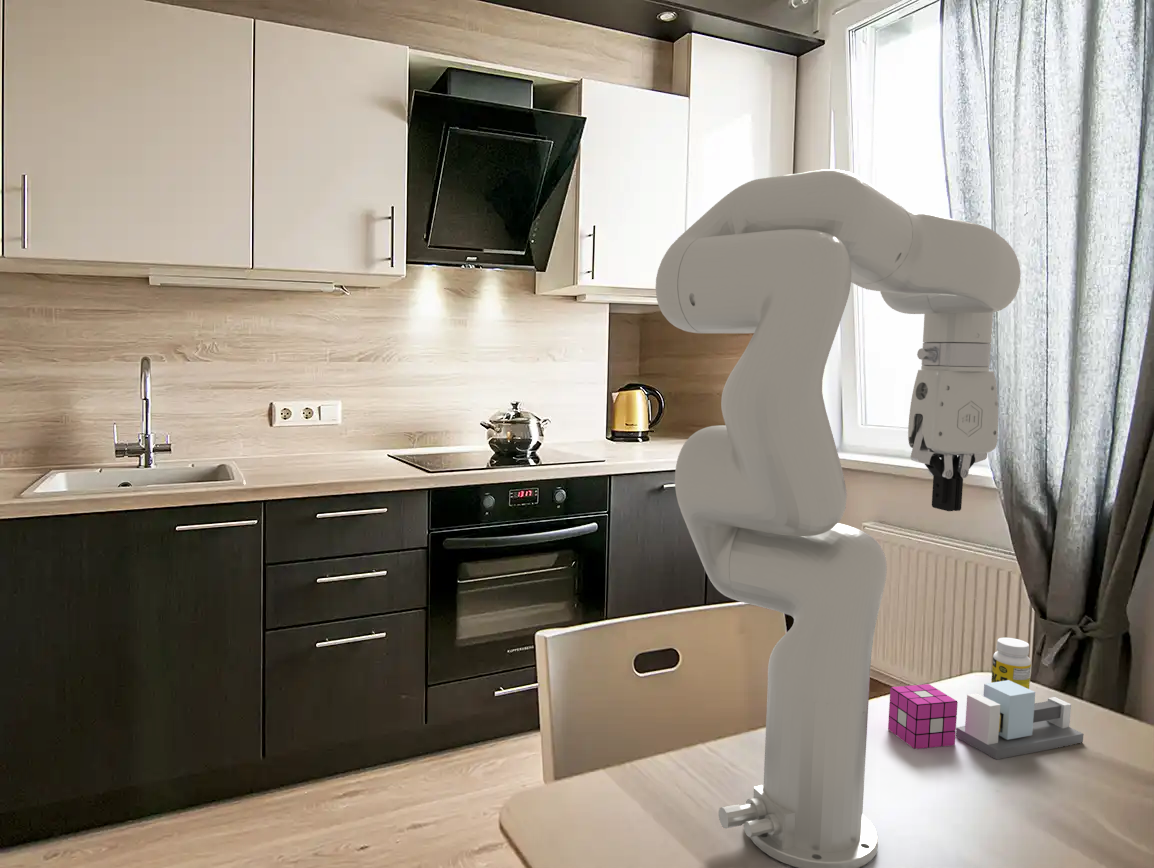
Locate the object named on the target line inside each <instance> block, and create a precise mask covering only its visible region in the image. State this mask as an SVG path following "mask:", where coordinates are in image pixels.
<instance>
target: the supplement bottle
mask: <svg viewBox="0 0 1154 868" xmlns="http://www.w3.org/2000/svg"><path fill="white" fill-rule="evenodd" d="M995 646H996V651H995V652H994V653H993V654H992V655H993V656H992V666H991V682H990V683H993V682H1000V681H1006V680H1010V681H1012V682H1014V683H1016V684H1019V685H1021V686H1023V687H1025V688H1027V689H1030V683H1031V682H1030V681H1031V672H1032V671H1031V668H1032V660H1031V658H1030V657H1029V655H1030V654H1029V653H1030V644H1029V642H1027V641H1025V640H1022V639H1019V638H1014V637H999V638H998V639H997V641H996V645H995Z"/></svg>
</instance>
